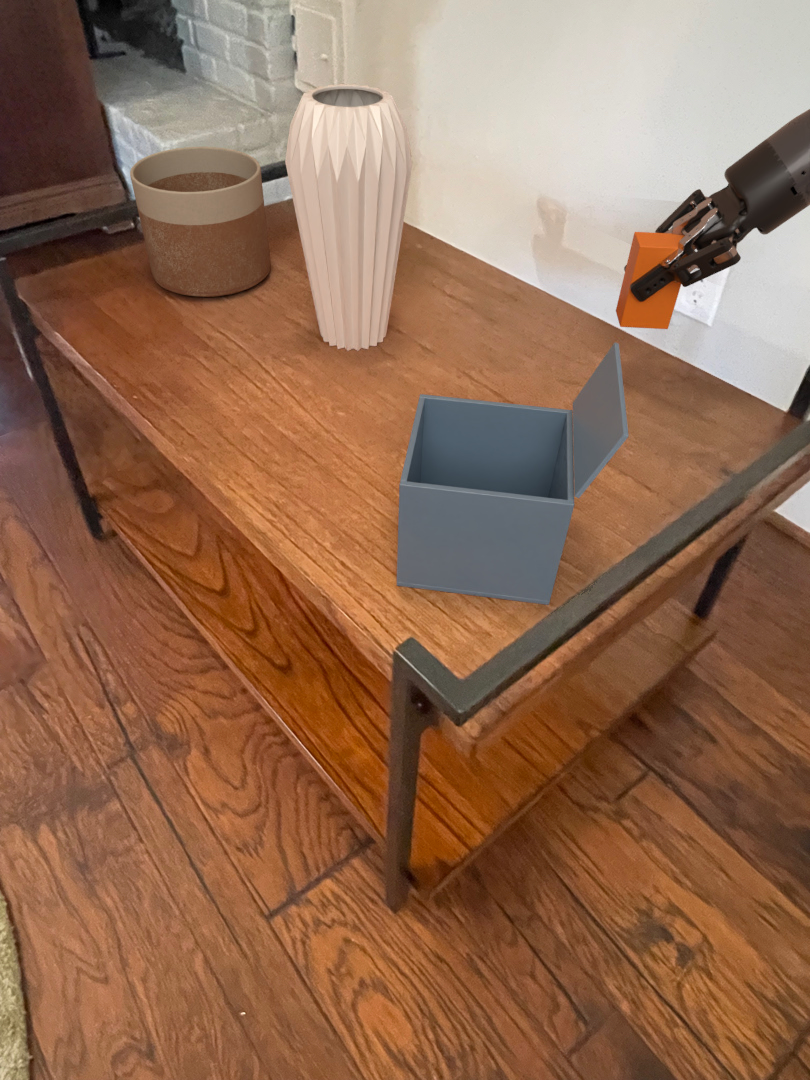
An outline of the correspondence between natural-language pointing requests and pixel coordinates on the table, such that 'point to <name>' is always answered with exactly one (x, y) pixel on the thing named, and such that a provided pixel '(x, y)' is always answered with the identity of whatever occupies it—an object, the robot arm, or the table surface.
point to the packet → (641, 260)
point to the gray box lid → (598, 420)
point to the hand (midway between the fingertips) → (632, 284)
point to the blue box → (485, 498)
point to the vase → (350, 205)
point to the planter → (203, 219)
